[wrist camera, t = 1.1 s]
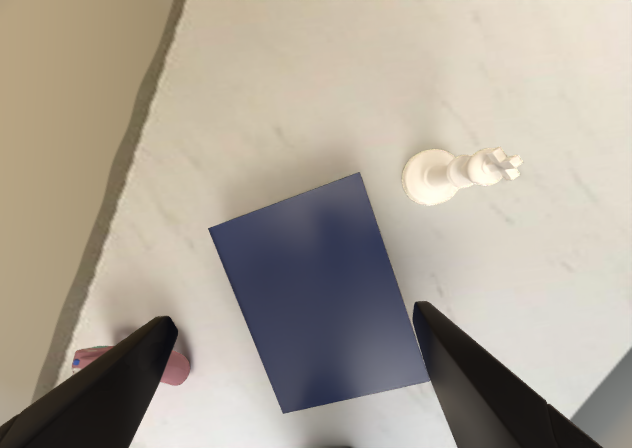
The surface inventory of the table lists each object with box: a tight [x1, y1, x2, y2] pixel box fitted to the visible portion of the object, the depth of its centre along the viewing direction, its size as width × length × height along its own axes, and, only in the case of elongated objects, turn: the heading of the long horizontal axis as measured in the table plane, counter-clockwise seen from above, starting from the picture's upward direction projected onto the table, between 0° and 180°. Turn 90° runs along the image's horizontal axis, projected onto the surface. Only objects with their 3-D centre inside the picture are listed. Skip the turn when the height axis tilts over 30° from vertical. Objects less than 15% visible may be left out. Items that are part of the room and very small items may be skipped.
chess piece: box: [402, 147, 523, 205], centre depth 15 cm, size 5×5×10 cm
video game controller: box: [72, 346, 190, 386], centre depth 23 cm, size 10×5×7 cm, turn 93°
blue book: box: [208, 172, 430, 414], centre depth 21 cm, size 19×14×3 cm
